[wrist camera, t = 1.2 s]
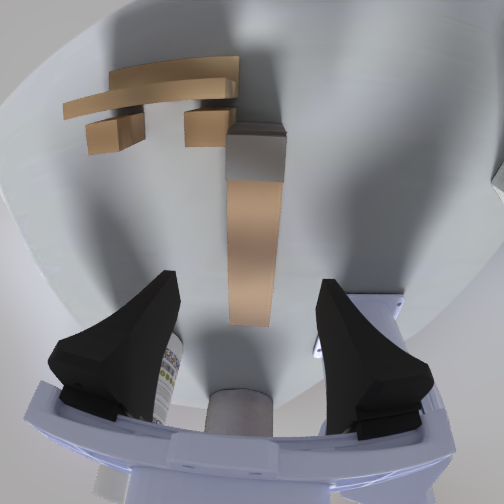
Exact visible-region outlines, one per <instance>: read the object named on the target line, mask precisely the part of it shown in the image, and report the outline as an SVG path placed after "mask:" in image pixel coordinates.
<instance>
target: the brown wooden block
mask: <svg viewBox="0 0 504 504" xmlns="http://www.w3.org/2000/svg"><path fill="white" fill-rule="evenodd" d="M286 144H287V137H286V130H285V128H284V127H283V125H282V124H281V123H264V122H236V123H234V124H233V125H232V126H231V127H230V128H229V129H228V130H227V134H226V180H227V238H228V286H229V319H230V325H241V326H257V327H269V322H270V313H271V304H272V295H273V285H274V276H275V266H276V255H277V245H278V234H279V223H280V212H281V200H282V187H283V183H284V171H285V158H286Z"/></svg>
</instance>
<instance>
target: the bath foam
mask: <svg viewBox="0 0 504 504" xmlns="http://www.w3.org/2000/svg"><path fill="white" fill-rule="evenodd" d="M182 354H183V345H182V343H181V341H180V339H179V338H178V337H177V336H176V335H175V334H174V333H173V332H172V334H171V337H170V339H169V342H168V345H167V348H166V351H165V353H164V357H163V360H162V364H161V369H160V374H159V379H158V384H157V390H156V397H155V404H154V412H153V423H154V424H159V425H164V426H165V422H166V418H167V414H168V410H169V406H170V402H171V398H172V394H173V390H174V386H175V382H176V378H177V374H178V370H179V366H180V362H181V358H182ZM129 480H130V475H129V474H127V473H124V472H121V471H118V470H115V469H113V468H110V467H108V466H105V465H103V464H101V465H100V466H99V469H98V473H97V476H96V480H95V485H94V488H93V495H95V496H97V497H99V498H101V499H104V500H106V501H109V502H112V503H115V504H124V503H125V499H126V494H127V489H128V485H129Z"/></svg>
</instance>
